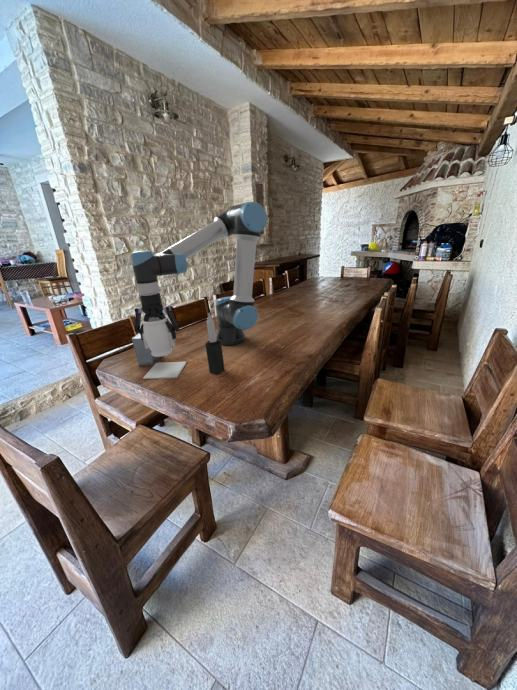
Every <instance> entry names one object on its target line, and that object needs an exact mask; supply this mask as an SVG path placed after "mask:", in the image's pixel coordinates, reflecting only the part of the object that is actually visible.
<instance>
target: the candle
mask: <svg viewBox="0 0 517 690" xmlns="http://www.w3.org/2000/svg"><path fill="white" fill-rule="evenodd" d="M206 327H207V335H208V340H207V341H206V342H205V345H204V346H205V350H206V357H207V358H206V359H207V363H208V365H207V366H208V370H209V374H213V375H220V374H221V373H222V372H224V371H225V364H224V363H225V362H224V354H223V345H221V341H219V340H218V339H217V332H216V325H215V321H214V319H213V318H212V316H211V312H208V313H207V319H206Z"/></svg>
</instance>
